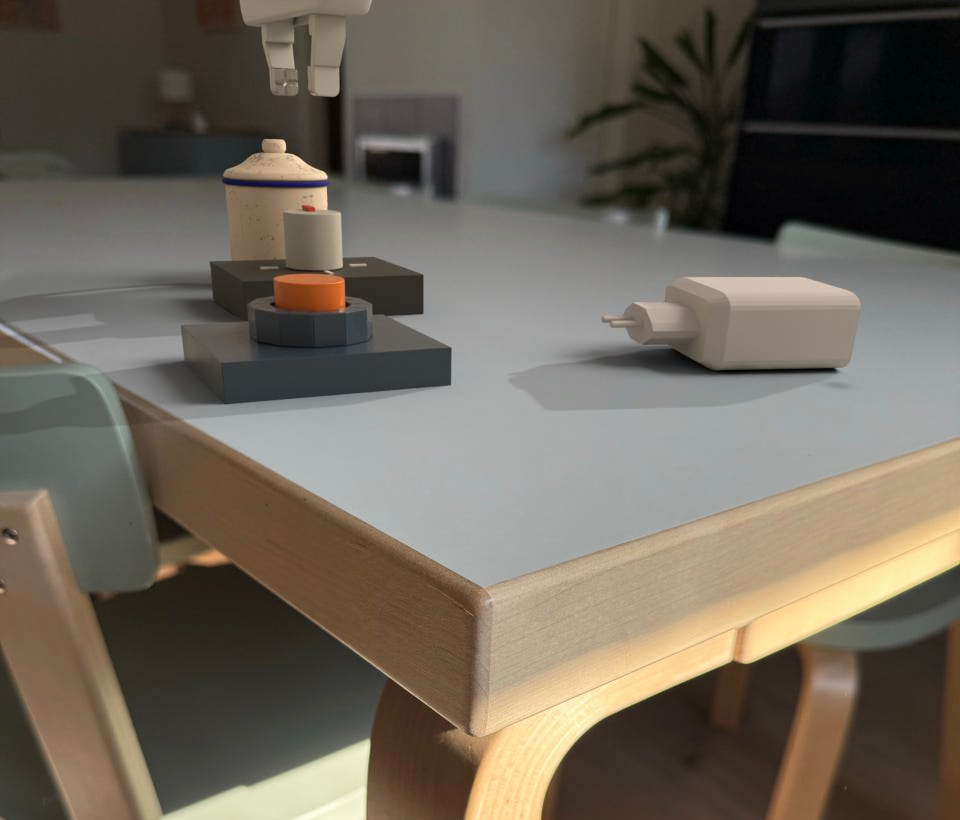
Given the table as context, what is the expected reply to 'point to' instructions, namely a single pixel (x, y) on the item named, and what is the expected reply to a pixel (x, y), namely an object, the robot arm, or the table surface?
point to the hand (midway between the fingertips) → (303, 96)
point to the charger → (749, 322)
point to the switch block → (312, 353)
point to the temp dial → (313, 239)
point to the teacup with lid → (268, 199)
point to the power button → (309, 292)
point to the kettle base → (363, 275)
